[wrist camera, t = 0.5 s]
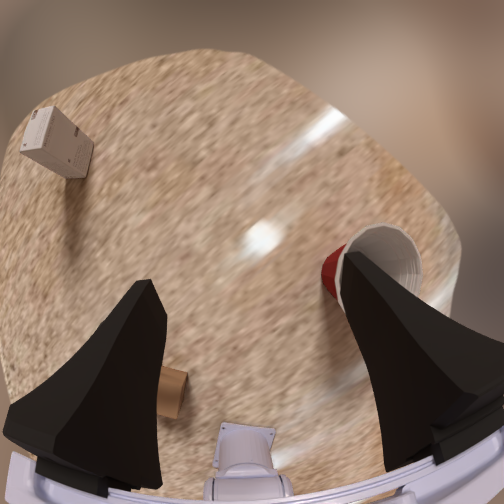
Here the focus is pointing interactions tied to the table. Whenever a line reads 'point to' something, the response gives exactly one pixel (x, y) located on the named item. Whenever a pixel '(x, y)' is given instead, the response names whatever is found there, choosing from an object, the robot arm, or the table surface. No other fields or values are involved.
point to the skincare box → (57, 143)
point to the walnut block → (170, 392)
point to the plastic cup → (378, 257)
